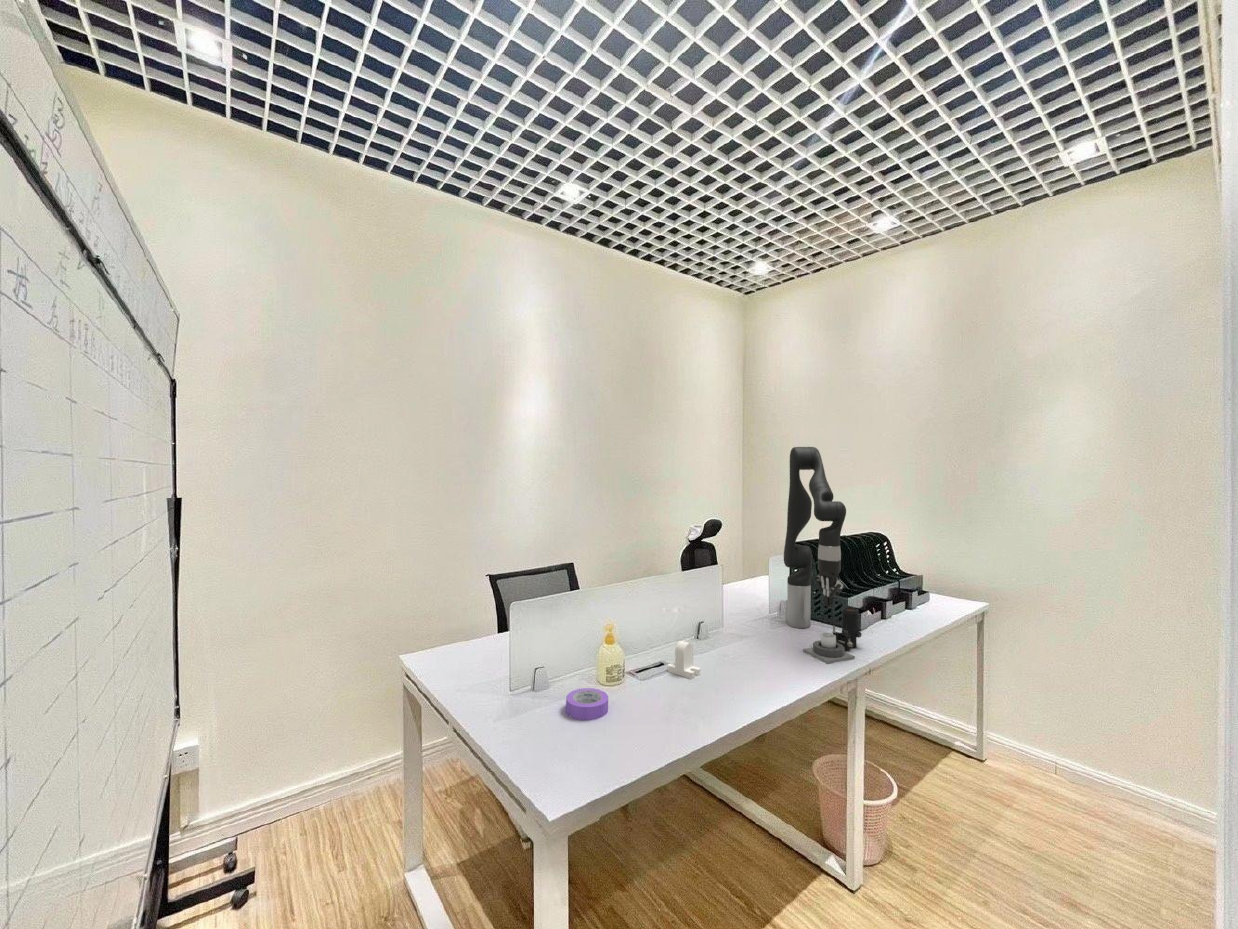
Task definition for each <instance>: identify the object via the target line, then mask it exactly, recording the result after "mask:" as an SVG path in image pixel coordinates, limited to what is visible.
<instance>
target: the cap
mask: <svg viewBox="0 0 1238 929" xmlns="http://www.w3.org/2000/svg"><path fill="white" fill-rule="evenodd" d="M820 636H821V637H820V639H821V647H823V648H828V649H835V648H836V636H835V635H834V634H833V633H832V632H823V633H821V634H820Z"/></svg>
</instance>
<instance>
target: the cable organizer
mask: <svg viewBox="0 0 1238 929" xmlns="http://www.w3.org/2000/svg"><path fill="white" fill-rule="evenodd" d="M674 654H675V655H674V657H675V658H674V661H673V663H668V664H667V672H668V673H669V672H670V673H672V674H675V675H678V676H680V677H684V678H687V679H689V680H692V679H695V676H696V677H697V676H698V677H699V676H700V675H701V667H698V666H695V665H694V645H693V643H691V642H687V641H683V640H680V641H677V644H676V646H675V651H674Z"/></svg>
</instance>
